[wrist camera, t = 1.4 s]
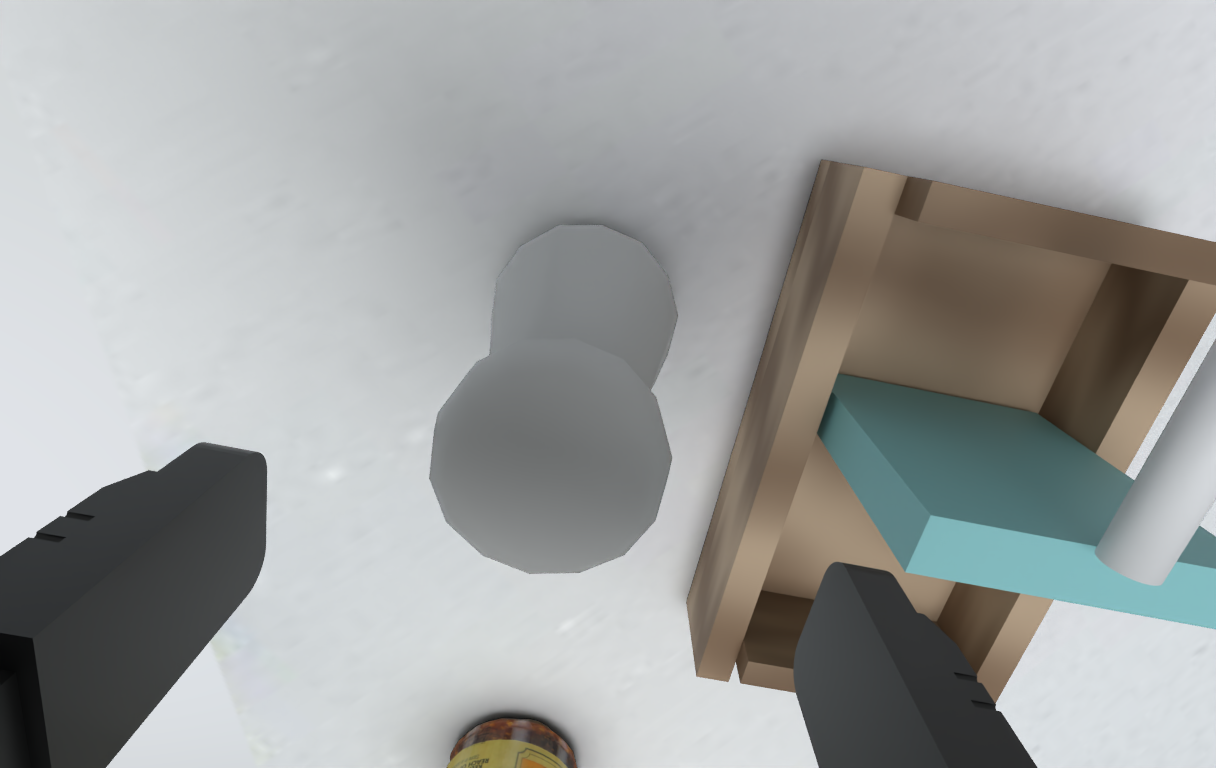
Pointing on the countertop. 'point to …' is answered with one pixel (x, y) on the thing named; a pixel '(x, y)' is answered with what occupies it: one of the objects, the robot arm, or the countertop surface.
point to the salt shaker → (562, 407)
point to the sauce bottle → (512, 746)
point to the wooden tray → (931, 389)
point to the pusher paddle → (1034, 498)
